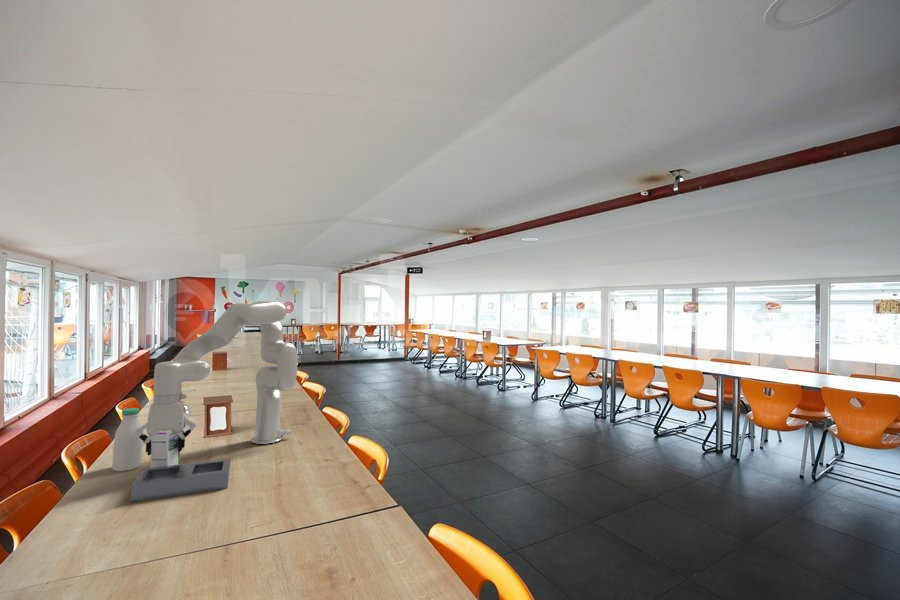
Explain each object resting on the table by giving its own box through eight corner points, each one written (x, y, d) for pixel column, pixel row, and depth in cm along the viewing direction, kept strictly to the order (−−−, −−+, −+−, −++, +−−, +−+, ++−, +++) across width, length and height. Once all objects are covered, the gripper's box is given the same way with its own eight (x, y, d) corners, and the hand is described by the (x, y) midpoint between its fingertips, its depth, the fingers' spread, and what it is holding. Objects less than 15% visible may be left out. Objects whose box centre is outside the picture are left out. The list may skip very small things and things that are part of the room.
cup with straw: (178, 432, 171) (181, 387, 171) (196, 433, 169) (199, 388, 170) (161, 438, 162) (164, 390, 163) (180, 439, 161) (183, 392, 162)
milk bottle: (143, 467, 132) (146, 409, 133) (113, 474, 126) (117, 413, 127) (139, 461, 137) (142, 405, 138) (110, 467, 132) (114, 408, 132)
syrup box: (166, 475, 124) (168, 430, 125) (149, 474, 125) (150, 430, 125) (179, 468, 130) (181, 425, 130) (162, 467, 130) (164, 424, 131)
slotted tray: (230, 473, 130) (231, 458, 130) (227, 488, 119) (228, 471, 120) (141, 485, 119) (142, 468, 120) (130, 502, 109) (131, 484, 109)
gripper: (199, 394, 135) (198, 444, 135) (137, 398, 127) (135, 452, 127) (196, 399, 128) (194, 452, 128) (131, 404, 120) (128, 460, 120)
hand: (165, 451), depth 127 cm, fingers closed on syrup box, 7 cm apart
